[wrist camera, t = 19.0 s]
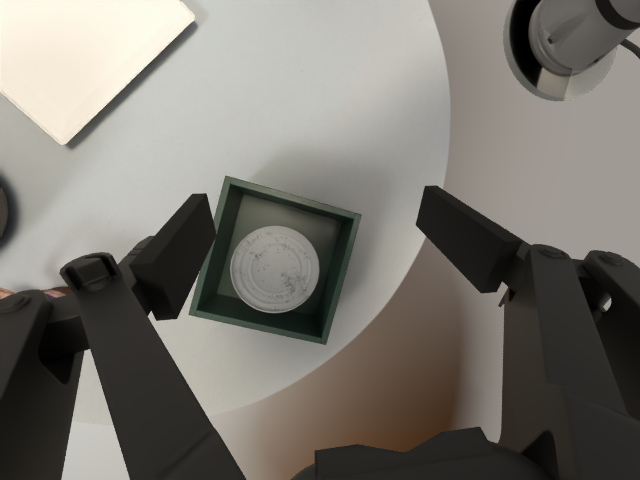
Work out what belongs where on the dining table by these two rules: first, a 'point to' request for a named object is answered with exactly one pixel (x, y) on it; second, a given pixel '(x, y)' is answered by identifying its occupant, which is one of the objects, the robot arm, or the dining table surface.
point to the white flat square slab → (79, 54)
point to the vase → (3, 211)
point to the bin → (287, 211)
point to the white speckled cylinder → (274, 269)
